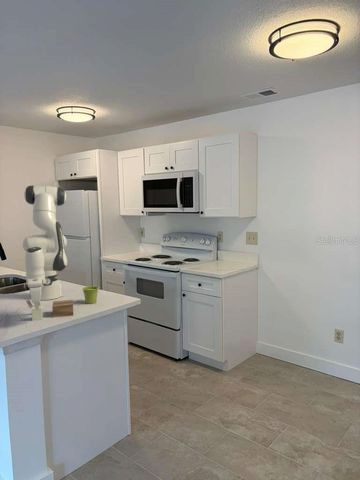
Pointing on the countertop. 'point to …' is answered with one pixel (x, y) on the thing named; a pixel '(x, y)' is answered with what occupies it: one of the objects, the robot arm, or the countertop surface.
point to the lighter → (30, 304)
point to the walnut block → (62, 308)
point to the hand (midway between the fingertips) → (37, 307)
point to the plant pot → (90, 294)
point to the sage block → (37, 313)
